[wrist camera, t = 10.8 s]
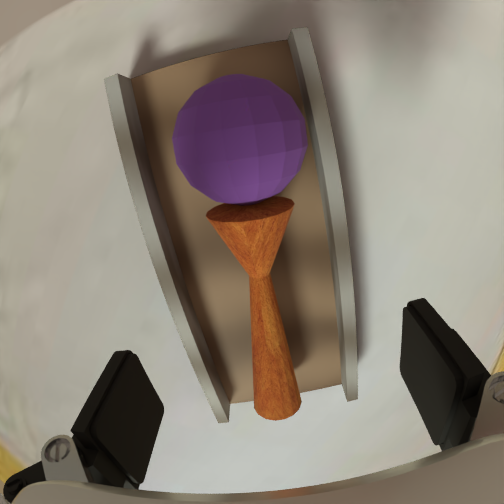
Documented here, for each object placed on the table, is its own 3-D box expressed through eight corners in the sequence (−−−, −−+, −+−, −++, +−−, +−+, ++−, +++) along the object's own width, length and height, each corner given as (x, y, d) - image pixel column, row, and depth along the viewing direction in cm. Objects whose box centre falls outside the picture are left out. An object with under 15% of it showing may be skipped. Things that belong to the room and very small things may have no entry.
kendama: (227, 433, 18) (139, 86, 10) (243, 372, 24) (190, 92, 16) (319, 435, 17) (296, 55, 9) (320, 371, 22) (298, 76, 15)
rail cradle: (349, 374, 23) (357, 399, 21) (221, 397, 24) (218, 423, 22) (299, 41, 15) (307, 27, 12) (123, 85, 16) (104, 79, 13)
